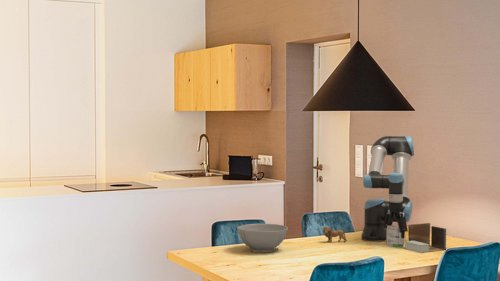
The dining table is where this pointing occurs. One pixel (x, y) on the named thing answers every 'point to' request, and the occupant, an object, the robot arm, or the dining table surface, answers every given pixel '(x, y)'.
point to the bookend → (438, 237)
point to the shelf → (421, 235)
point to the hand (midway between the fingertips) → (395, 242)
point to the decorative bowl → (262, 236)
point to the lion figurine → (333, 234)
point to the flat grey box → (417, 246)
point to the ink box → (393, 236)
